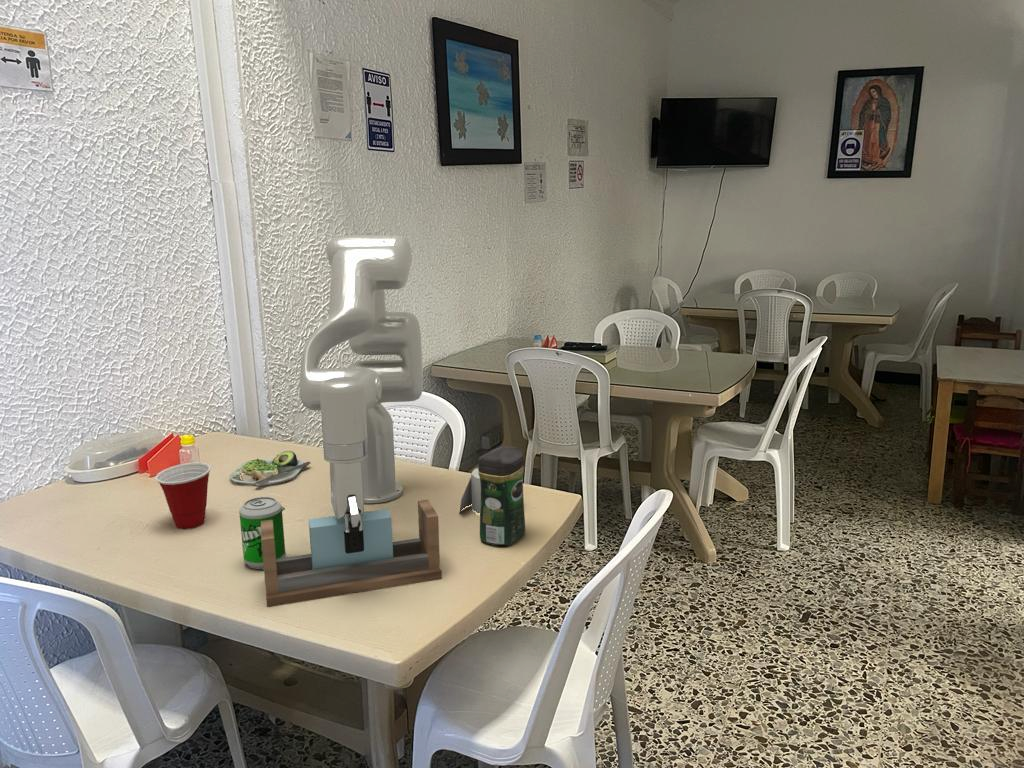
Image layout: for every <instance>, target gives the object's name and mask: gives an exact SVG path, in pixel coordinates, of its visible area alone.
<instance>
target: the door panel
mask: <svg viewBox="0 0 1024 768" xmlns="http://www.w3.org/2000/svg"><path fill="white" fill-rule="evenodd" d="M392 520H393V519H392V515H391V513H390V510H389V509H388V508H386V509H385V508H384V509H378V510H377V509H376V510H371V511H364V514H363V515H362V516H361V522H362V529H363V535H364V551H362V552H356V553H349V554H347V553H346V552H345V541H344V531H346V530H345V522H344V517H341V518H340V519H337V518H336V517H335V515H331V516H323V517H314V518H308V530H309V531H308V532H309V544H310V554H311V559H312V570H318V569H325V568H331V567H338V566H345V565H351V564H358V563H365V562H371V561H378V560H385V559H391V558H393V542H394V541H393V525H392V524H393V522H392ZM349 521H351V519H348V523H349Z"/></svg>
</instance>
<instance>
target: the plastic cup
mask: <svg viewBox="0 0 1024 768" xmlns="http://www.w3.org/2000/svg"><path fill="white" fill-rule="evenodd" d="M211 468H212V467H211V465H210V464H209V463H206V462H197V461H195V462H187V463H181V464H177V465H173V466H169V467H168V468H165V469H162V470H161V471H160V472H158V473H157V474H156V476H155V478H154V479H155V481H156V482H157V483H158V484H159V485H160V487H161V490H162V491H163V494H164V498H165V501H166V503H167V507H168V509H169V511H170V514H171V517H172V521H173V523H174V526H175V527H176V528H177V529H180V528H183V529H182V530H188V529H187V528H190V529H193V527H195V528H197V526H198V527H200V526H202V525H203V524H204V523H205V520H206V511H207V504H208V503H207V501H208V488H209V487H208V486H209V478H210V471H211Z"/></svg>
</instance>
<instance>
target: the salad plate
mask: <svg viewBox="0 0 1024 768" xmlns="http://www.w3.org/2000/svg"><path fill="white" fill-rule="evenodd" d="M310 464H311V461H306V462H304V461H303V460H301V459H298V457H297V455H296V453H295V452H294V451H291V450H284V451H283V452H282V451H281V452H280V453H279V454H277V455H276V456H275V457H274V458H255V459H252V460H248V461H245V462H243V463H242V464H240V465H239V466H238V467H237V468H236V469H235V470H234V471H233V472H231V474H230V475H229V480H230V481H231V482H232V483H235V484H237V485H239V484H240V486H244V485H255V486H254V487H265V486H266V485H268V486H273V485H278V484H281V482H282V483H286V482H290V481H291V480H293V479H294V478H296V477H297V476H298V475H299V473H300V472H301V471H303V470H304V469H305V468H307V467H308V466H310ZM242 473H246V474H245V475H247V474H249V475H248V476H251V475H253V476H252V477H254V479H256V481H255V480H248V481H247V480H243V479H242V480H241V479H240V475H241V474H242ZM285 481H286V482H285ZM277 483H278V484H277ZM272 484H273V485H272ZM266 487H267V486H266Z"/></svg>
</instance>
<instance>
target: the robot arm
mask: <svg viewBox="0 0 1024 768" xmlns="http://www.w3.org/2000/svg"><path fill="white" fill-rule="evenodd" d="M325 248H326V249H325V250H326V251H325V253H326V256H327V261H328V263H329V265H330V268H331V269H330V284H329V285H330V286H329V287H330V288H329V289H330V291H329V302H328V303H329V307H328V317H327V318H326V320H324V322H322V323H321V324H320V325H319V326H318V327H317V328H316V330H315V331H313V333H312V334H311V335H310V337H309V338H308V340H307V342H306V343H305V346H304V348H303V350H302V354H301V359H300V360H301V361H300V372H299V387H298V388H299V391H298V392H299V398H300V401H301V404H302V405H303V406H304V407H305V408H306V409H308V410H311V411H318V412H319V411H320V414H321V415H320V417H321V418H320V419H321V433H322V444H323V445H322V447H323V460H324V461H326V462H328V463H329V480H330V481H329V483H330V502H331V507H332V510H333V514H334V516H335V517H336V518H337V519H340V518H341V517H344V522H345V530H346V531H344V541H345V552H346V553H347V554H349V553H356V552H362V551H364V535H363V529H362V522H361V516H362V515H363V514H364V512H365V504H380V503H382V504H383V503H386V502H389V501H393V500H396V499H398V498H399V497H401V495H402V494H403V490H404V489H403V485H402V484H400V483H399V482H397V481H396V465H395V464H396V463H395V461H396V459H395V443H394V441H395V438H394V421H393V418H392V416H391V414H390V412H389V411H388V410H387V408H386V407H385V406H384V405H383V403H384V404H385V403H407V402H414V401H417V400H419V399H420V398H421V396H422V394H423V391H424V388H423V387H424V374H423V352H422V351H423V350H422V348H423V347H422V333H421V332H422V331H421V326H420V323H419V320H418V318H417V316H416V315H415V314H413V313H411V312H407V311H388V310H387V309H386V294H385V293H386V292H385V290H387V291H388V290H400V289H403V288H404V287H405V286H406V284H407V283H408V280H409V275H410V270H411V265H412V249H411V248H412V247H411V245H410V242H409V240H408V239H407V238H406V237H405V236H403V235H398V234H396V235H395V234H393V235H392V234H384V235H383V234H382V235H379V234H378V235H377V234H375V235H369V234H365V235H364V234H361V235H360V234H356V235H355V234H354V235H353V234H351V235H341V236H334V237H333V238H331V239H330V240H328V242H327V245H326V247H325ZM347 341H348V345H349V348H350V350H351V351H352V353H354V354H357V355H360V356H398V357H400V358H401V359H373V360H372V359H367V360H359V361H353V362H352V363H350V364H348V366H347V367H344V368H342V367H340V368H337V367H335V368H319V364H320V361H321V359H323V357H324V356H325V355H326V353H328V351H330V350H331V349H333V348H334V347H336V346H338V345H340V344H342V343H344V342H347ZM348 519H351V521H349V523H348Z"/></svg>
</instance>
